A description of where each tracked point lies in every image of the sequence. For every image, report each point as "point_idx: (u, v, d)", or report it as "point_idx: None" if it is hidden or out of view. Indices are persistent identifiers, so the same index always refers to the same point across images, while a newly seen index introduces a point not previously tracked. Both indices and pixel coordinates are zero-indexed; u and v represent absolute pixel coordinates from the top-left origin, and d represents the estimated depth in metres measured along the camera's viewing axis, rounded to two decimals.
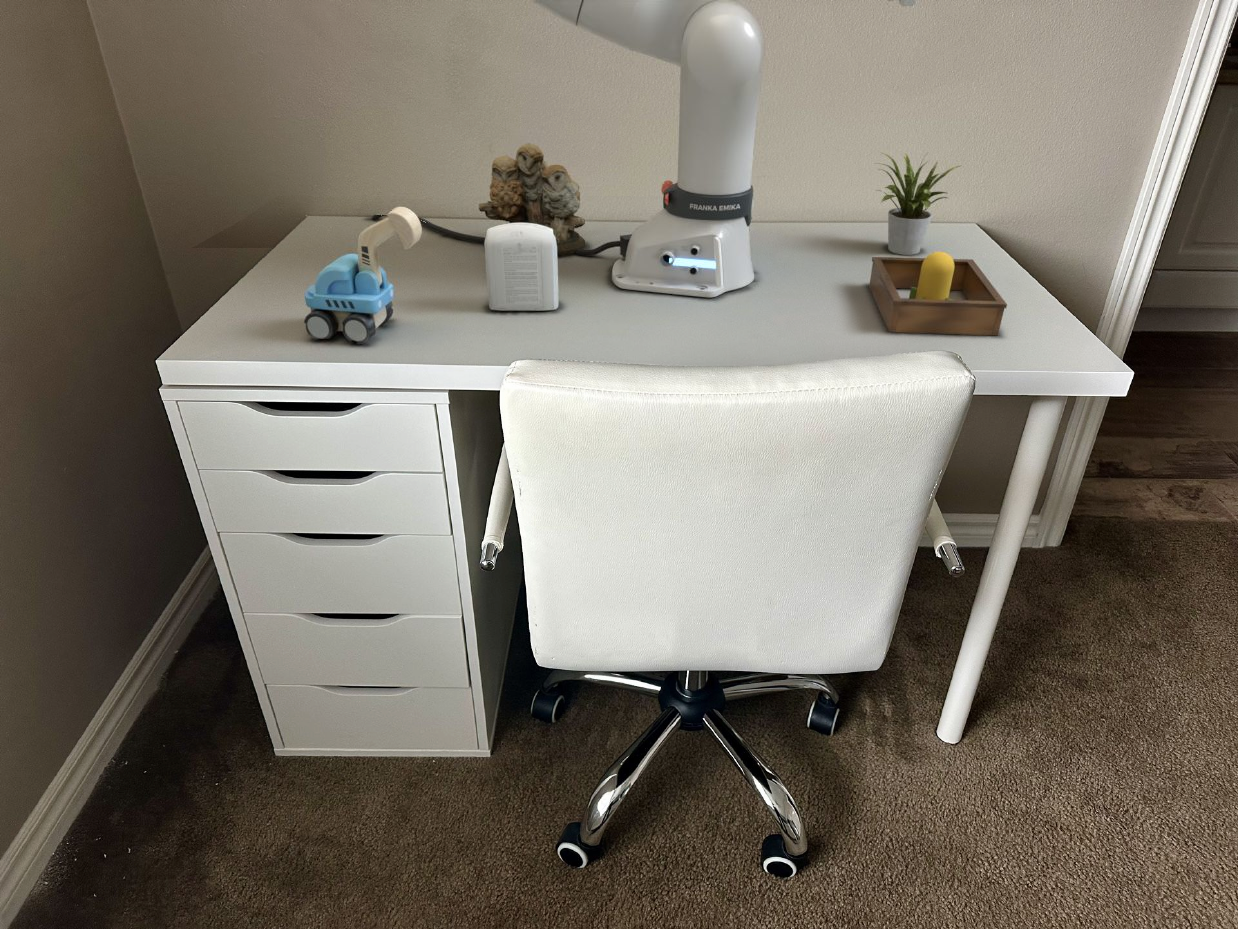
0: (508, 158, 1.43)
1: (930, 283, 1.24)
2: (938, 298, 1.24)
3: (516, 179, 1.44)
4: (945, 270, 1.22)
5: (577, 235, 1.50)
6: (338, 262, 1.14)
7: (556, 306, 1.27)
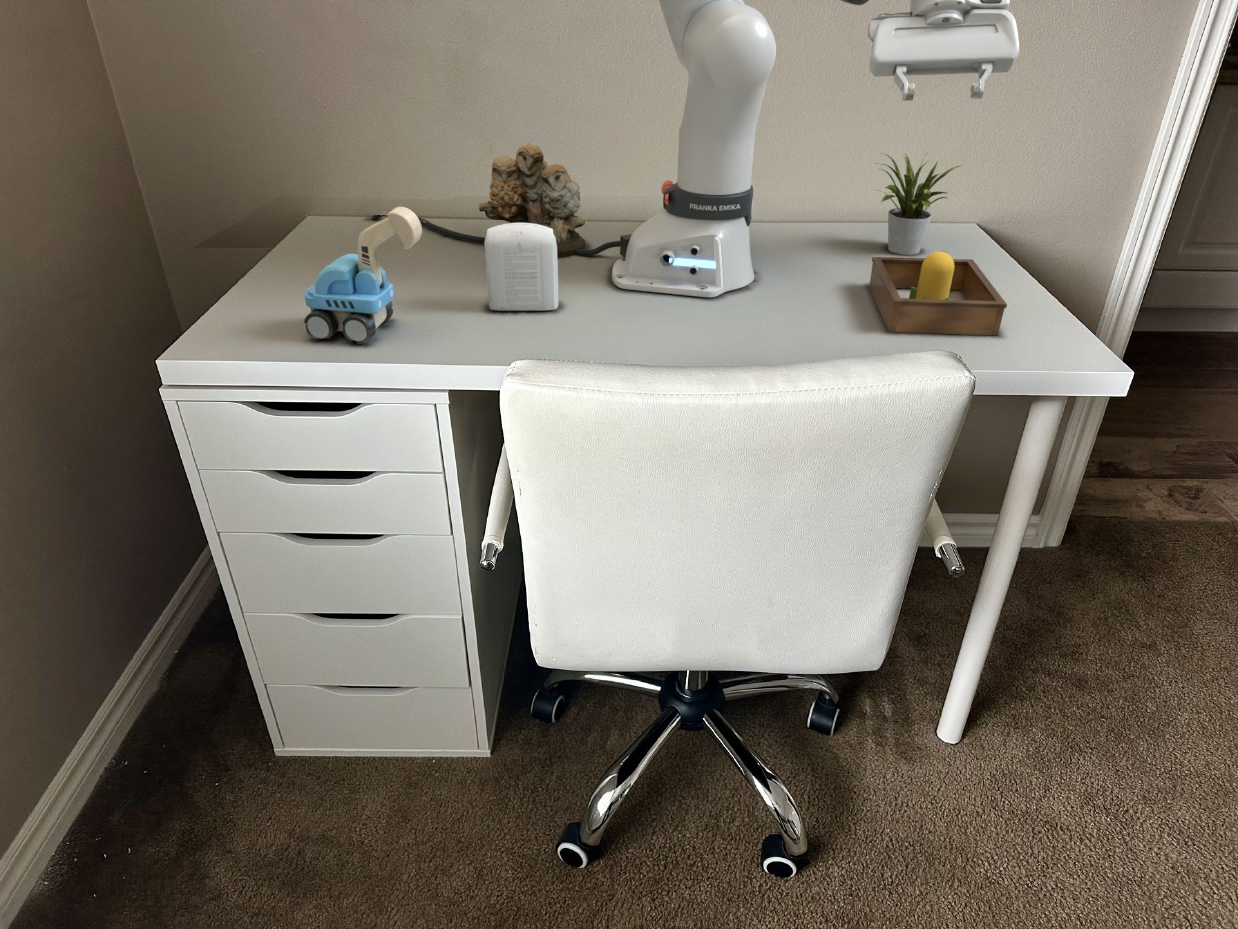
0: (508, 158, 1.43)
1: (930, 283, 1.24)
2: (938, 298, 1.24)
3: (516, 179, 1.44)
4: (945, 270, 1.22)
5: (577, 235, 1.50)
6: (338, 262, 1.14)
7: (556, 306, 1.27)
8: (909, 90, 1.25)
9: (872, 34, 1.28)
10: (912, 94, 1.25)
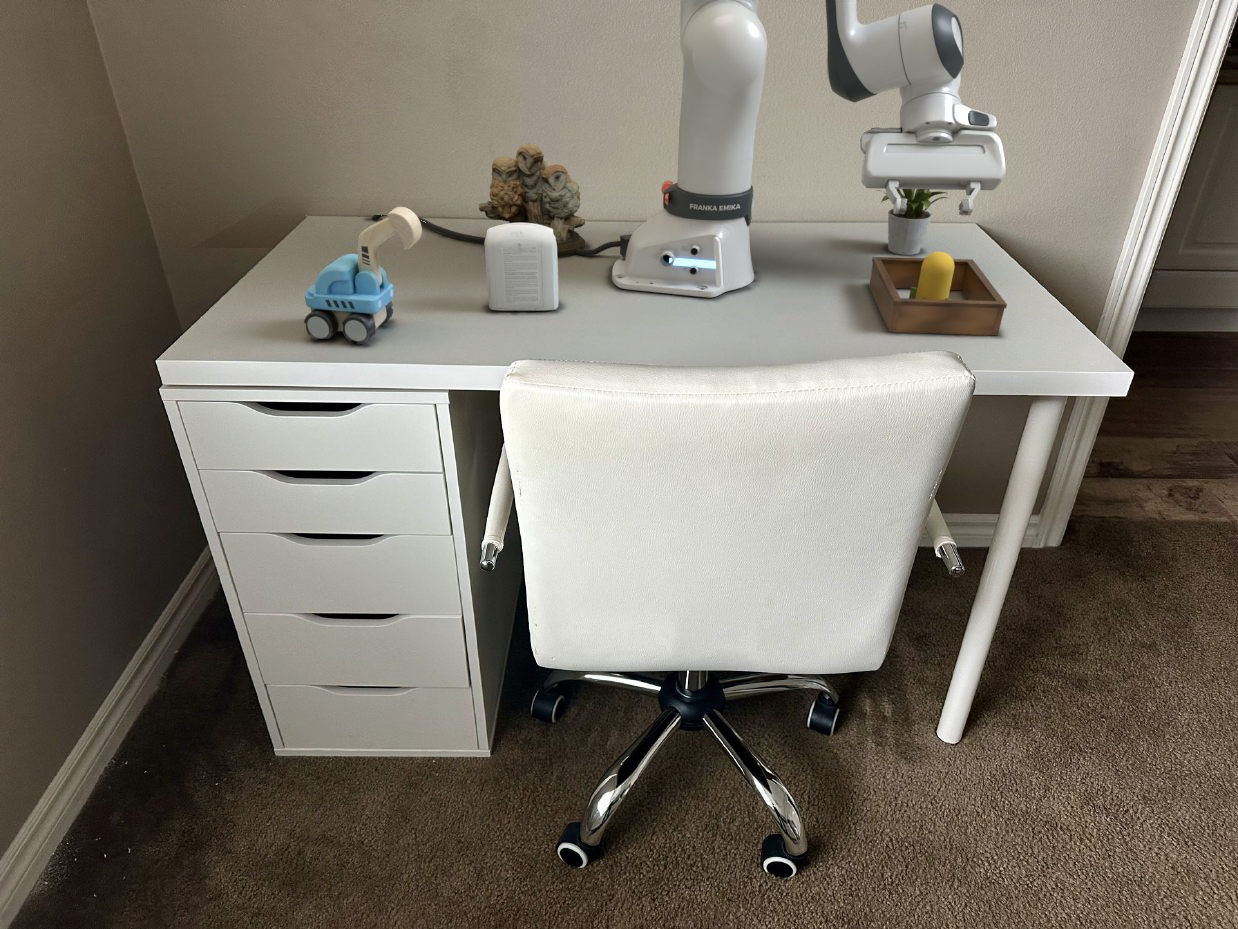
0: (508, 158, 1.43)
1: (930, 283, 1.24)
2: (938, 298, 1.24)
3: (516, 179, 1.44)
4: (945, 270, 1.22)
5: (577, 235, 1.50)
6: (338, 262, 1.14)
7: (556, 306, 1.27)
8: (901, 205, 1.28)
9: (864, 147, 1.31)
10: (904, 209, 1.28)
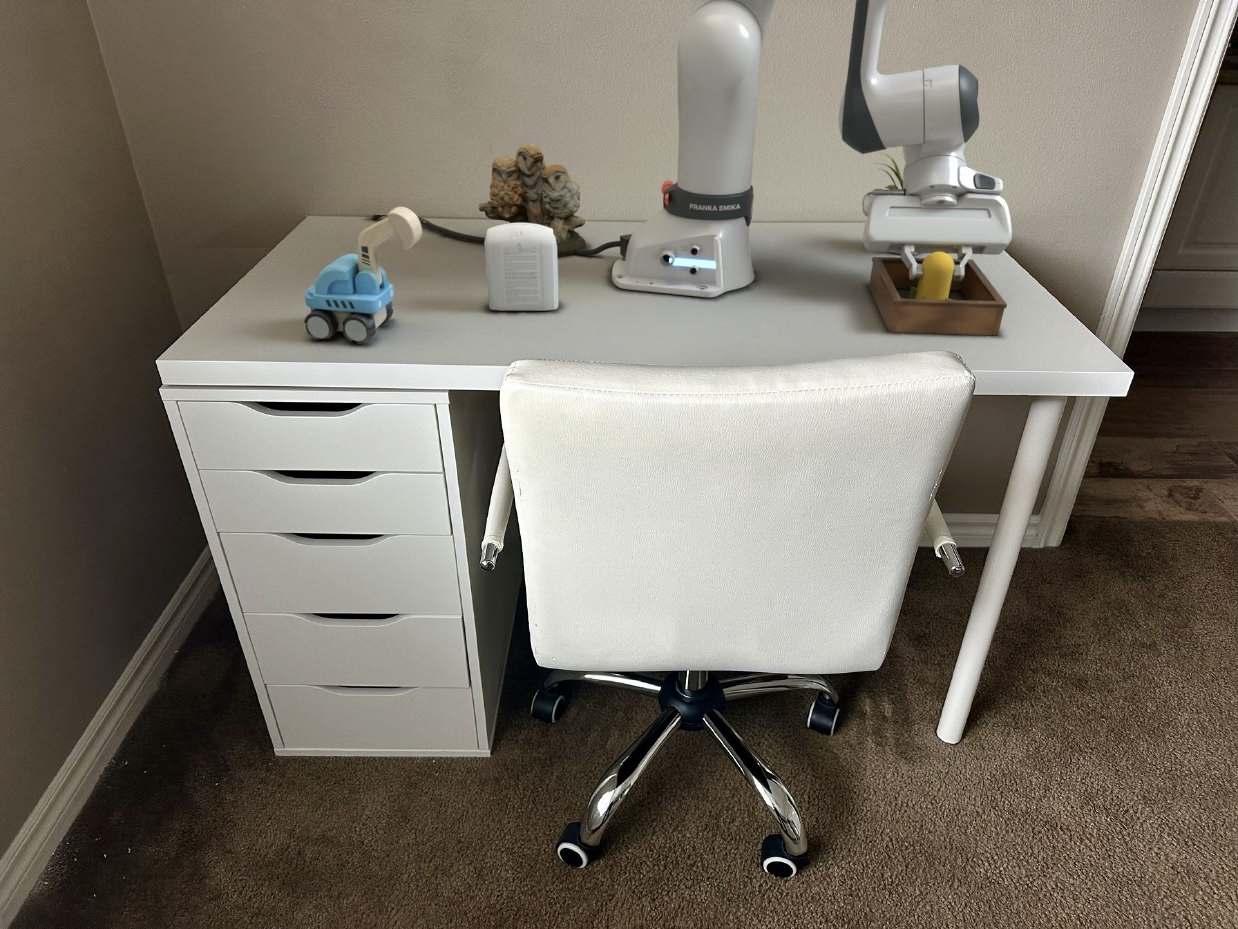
0: (508, 158, 1.43)
1: (930, 283, 1.24)
2: (938, 298, 1.24)
3: (516, 179, 1.44)
4: (945, 270, 1.22)
5: (577, 235, 1.50)
6: (338, 262, 1.14)
7: (556, 306, 1.27)
8: (917, 271, 1.24)
9: (866, 209, 1.27)
10: (920, 275, 1.24)
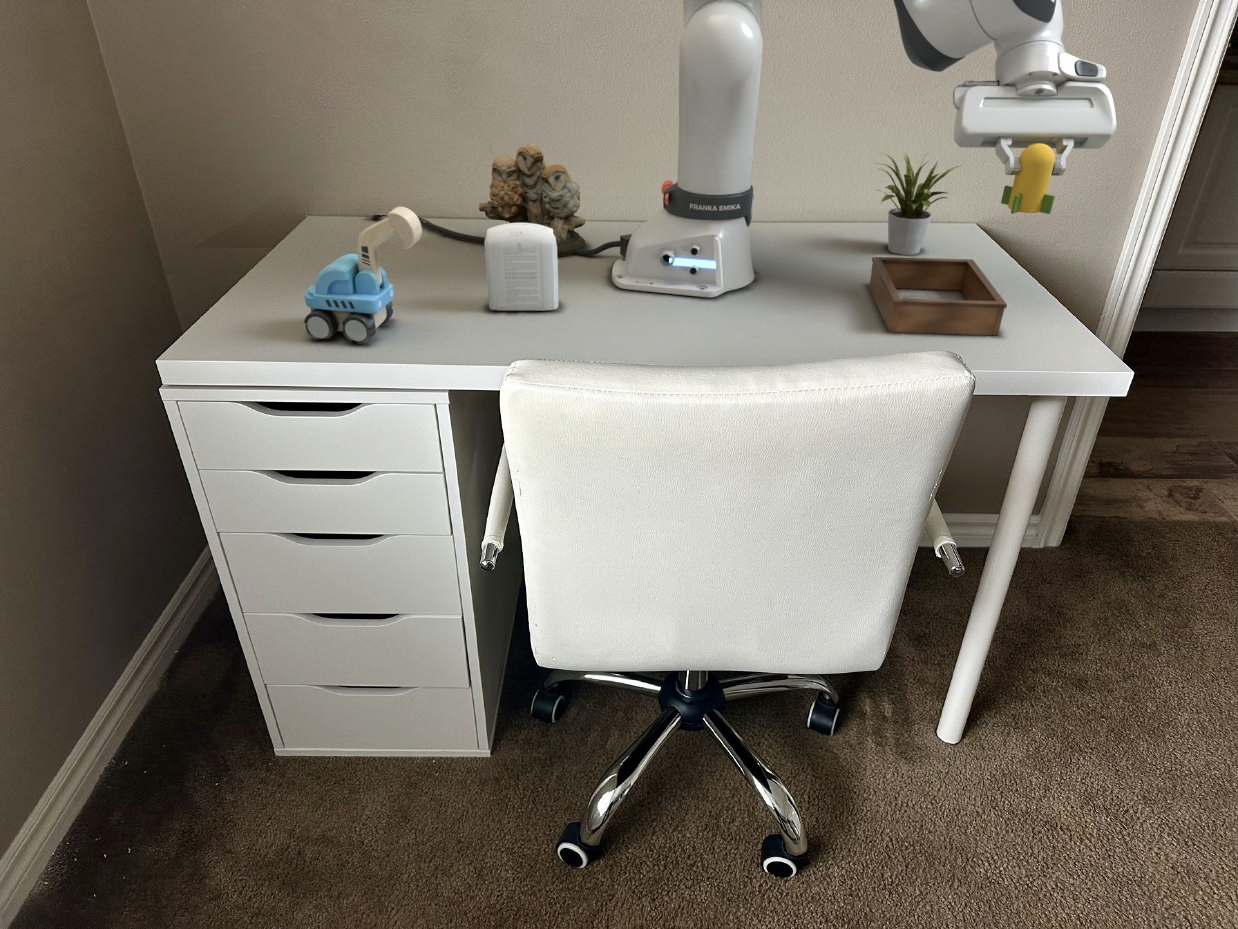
0: (508, 158, 1.43)
1: (1029, 177, 1.16)
2: (1037, 194, 1.16)
3: (516, 179, 1.44)
4: (1046, 162, 1.14)
5: (577, 235, 1.50)
6: (338, 262, 1.14)
7: (556, 306, 1.27)
8: (1015, 164, 1.16)
9: (958, 102, 1.19)
10: (1018, 169, 1.16)
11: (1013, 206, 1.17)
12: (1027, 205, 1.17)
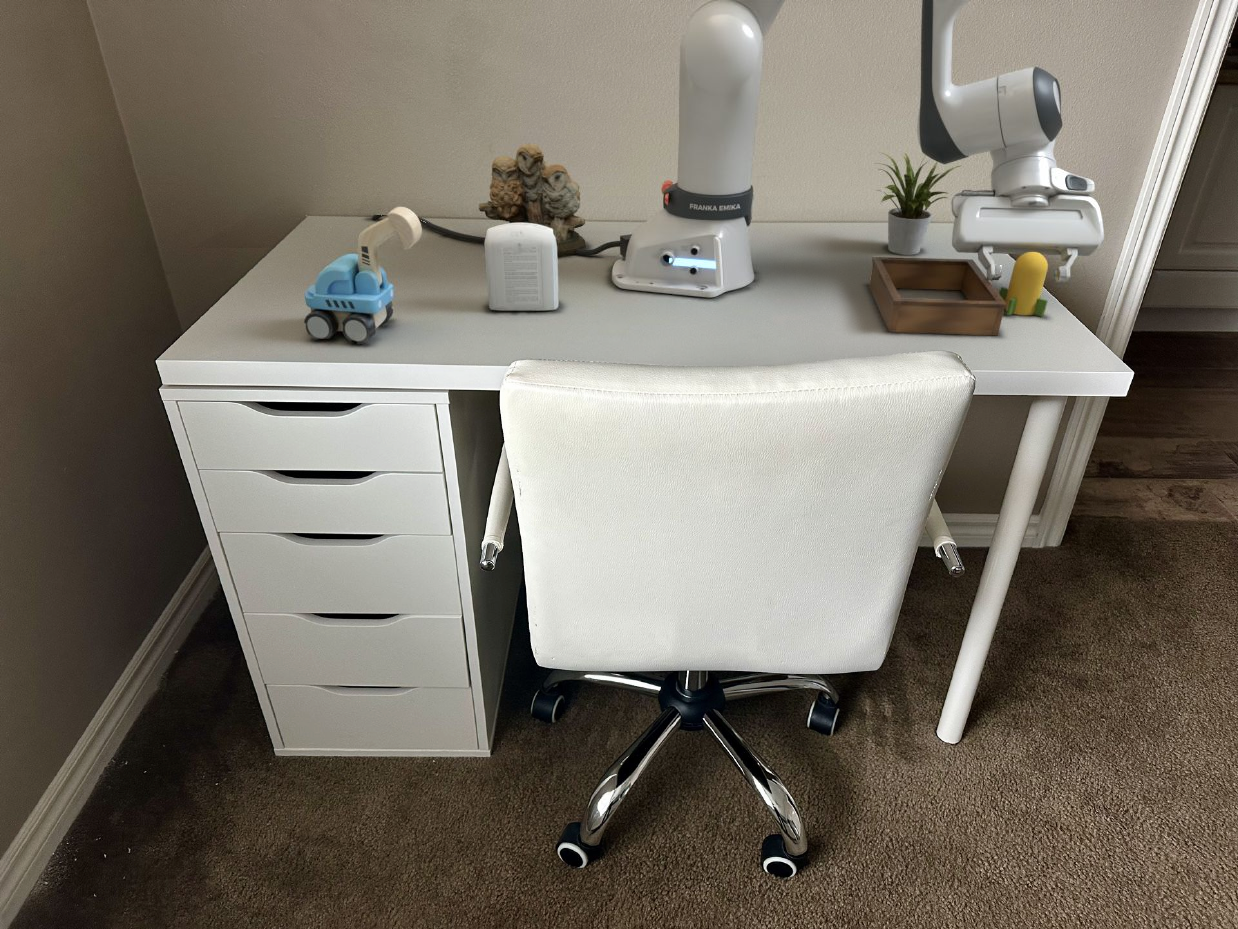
0: (508, 158, 1.43)
1: (1023, 283, 1.23)
2: (1031, 298, 1.24)
3: (516, 179, 1.44)
4: (1039, 270, 1.22)
5: (577, 235, 1.50)
6: (338, 262, 1.14)
7: (556, 306, 1.27)
8: (996, 271, 1.24)
9: (956, 210, 1.27)
10: (999, 276, 1.24)
11: (1008, 309, 1.25)
12: (1021, 308, 1.25)
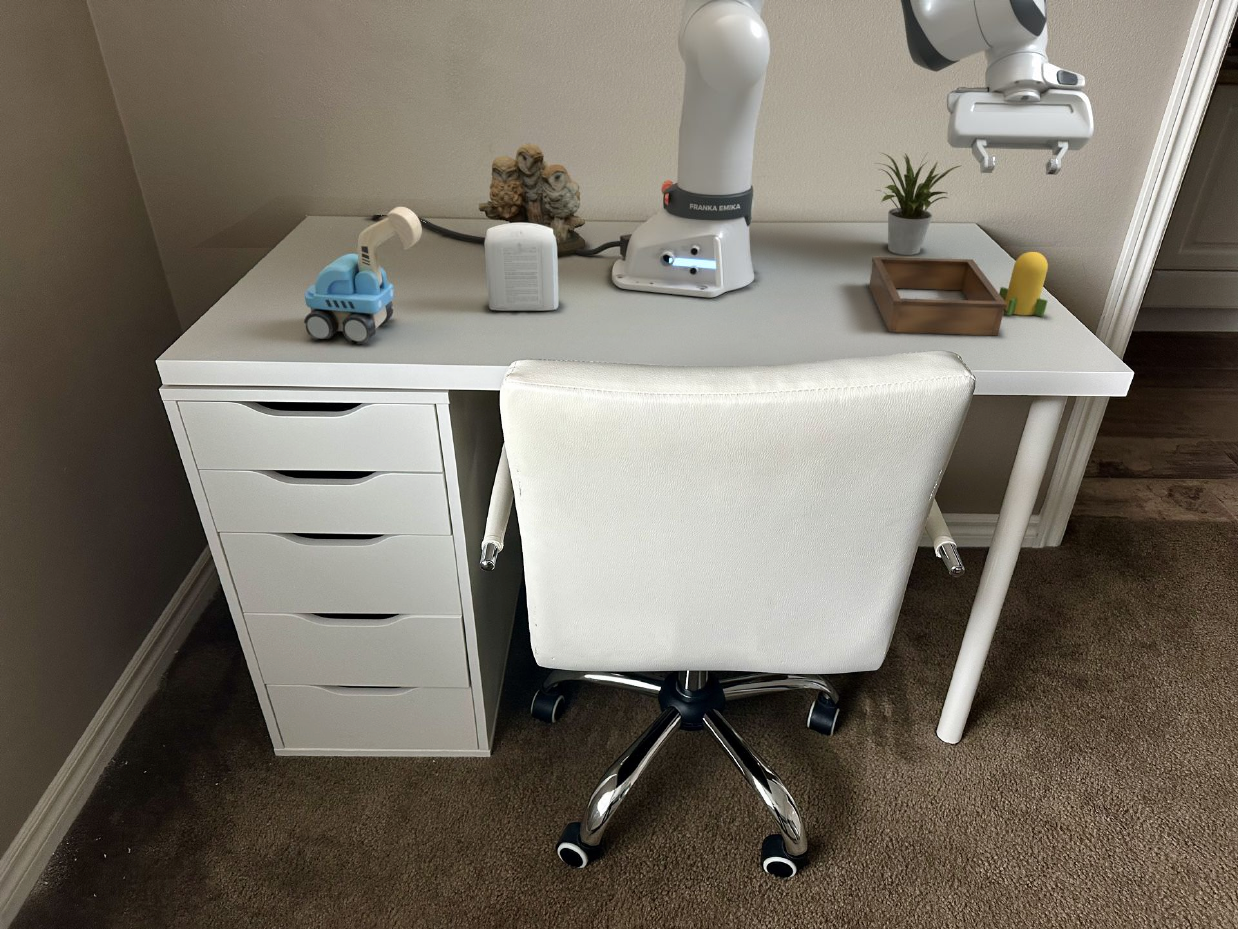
0: (508, 158, 1.43)
1: (1023, 283, 1.23)
2: (1031, 298, 1.24)
3: (516, 179, 1.44)
4: (1039, 270, 1.22)
5: (577, 235, 1.50)
6: (338, 262, 1.14)
7: (556, 306, 1.27)
8: (989, 163, 1.29)
9: (951, 107, 1.31)
10: (992, 167, 1.29)
11: (1008, 309, 1.25)
12: (1021, 308, 1.25)
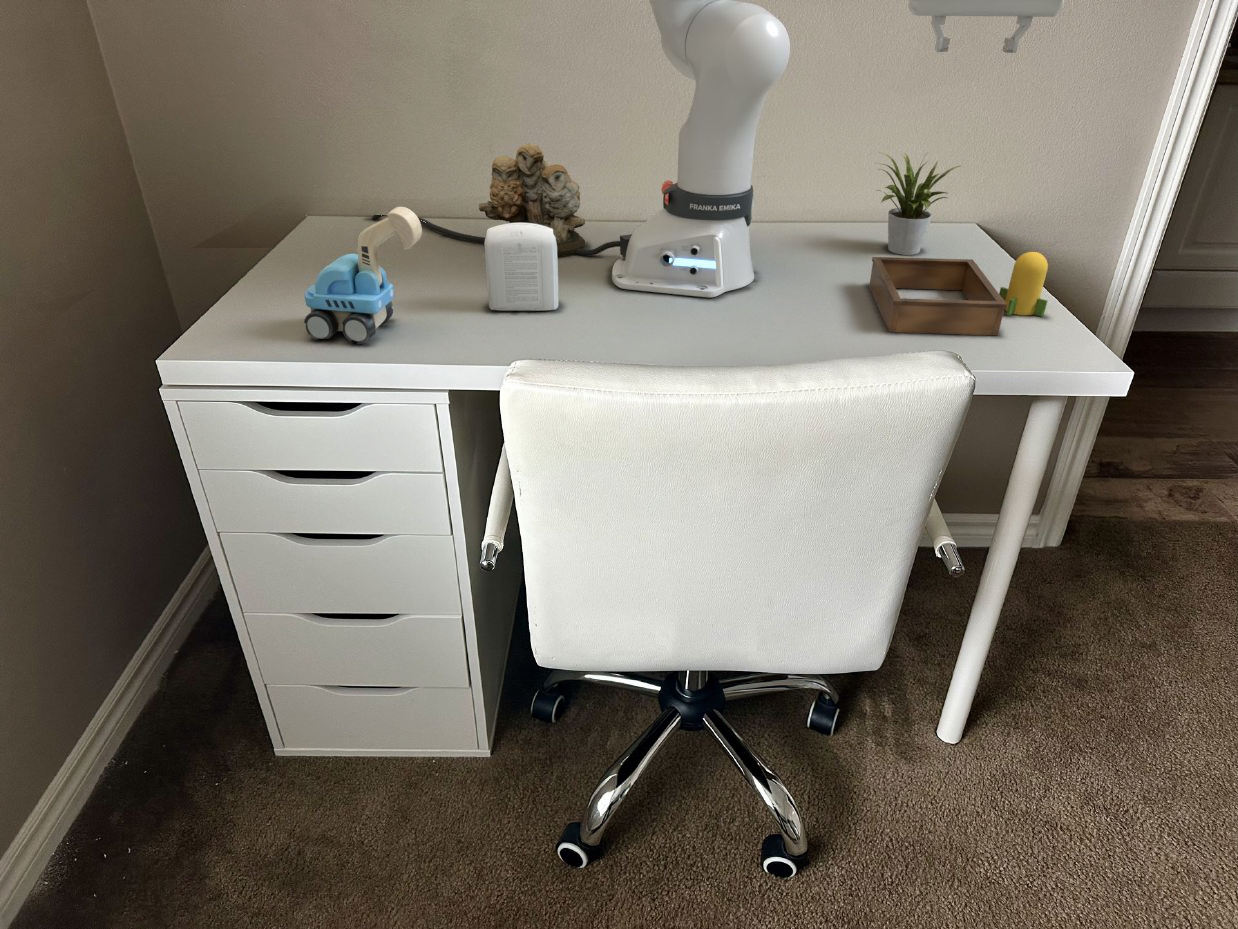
0: (508, 158, 1.43)
1: (1023, 283, 1.23)
2: (1031, 298, 1.24)
3: (516, 179, 1.44)
4: (1039, 270, 1.22)
5: (577, 235, 1.50)
6: (338, 262, 1.14)
7: (556, 306, 1.27)
8: (943, 47, 1.24)
9: None
10: (945, 51, 1.24)
11: (1008, 309, 1.25)
12: (1021, 308, 1.25)
